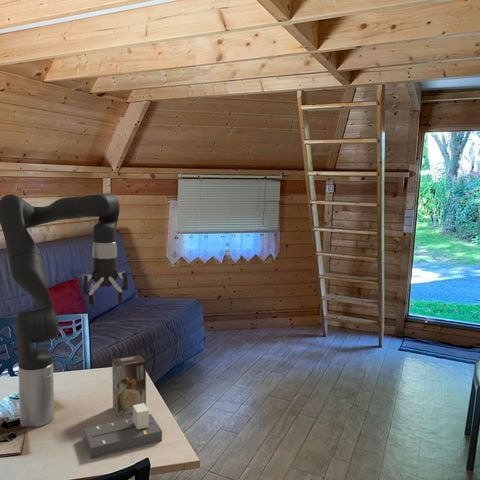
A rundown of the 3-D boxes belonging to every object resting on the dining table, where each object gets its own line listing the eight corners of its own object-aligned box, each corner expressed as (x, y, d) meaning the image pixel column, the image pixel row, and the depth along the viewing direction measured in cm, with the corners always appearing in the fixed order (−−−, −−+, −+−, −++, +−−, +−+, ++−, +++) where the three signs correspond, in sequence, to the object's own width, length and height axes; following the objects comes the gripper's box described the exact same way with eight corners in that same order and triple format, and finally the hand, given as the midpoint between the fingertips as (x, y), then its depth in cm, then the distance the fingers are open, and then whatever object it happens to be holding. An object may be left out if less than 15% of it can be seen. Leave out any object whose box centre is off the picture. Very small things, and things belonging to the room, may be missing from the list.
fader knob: (137, 429, 128) (137, 412, 128) (132, 421, 132) (132, 405, 132) (148, 426, 130) (148, 410, 129) (143, 419, 134) (144, 403, 133)
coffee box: (140, 401, 151) (141, 354, 149) (146, 410, 145) (146, 361, 143) (112, 407, 147) (111, 358, 144) (116, 416, 141) (116, 366, 139)
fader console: (91, 458, 120) (91, 447, 120) (84, 438, 129) (84, 428, 129) (161, 440, 129) (162, 430, 129) (150, 423, 138) (150, 413, 138)
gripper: (84, 258, 144) (84, 309, 146) (129, 256, 151) (129, 305, 153) (79, 254, 150) (80, 303, 153) (123, 252, 157) (123, 299, 159)
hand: (105, 304), depth 153 cm, fingers open, 8 cm apart
